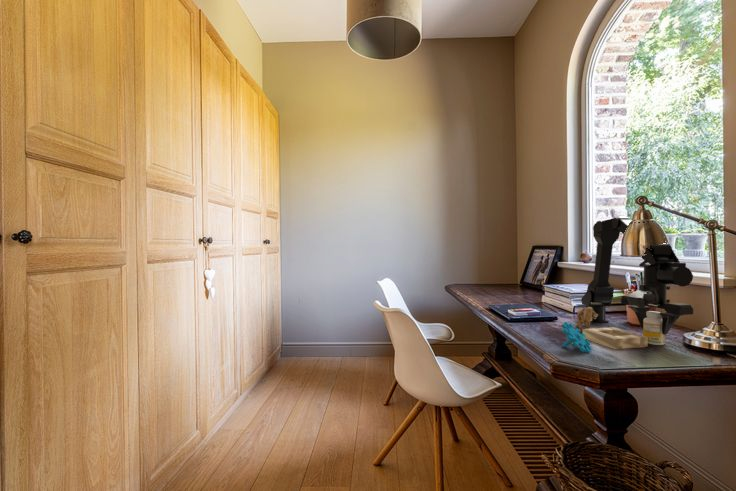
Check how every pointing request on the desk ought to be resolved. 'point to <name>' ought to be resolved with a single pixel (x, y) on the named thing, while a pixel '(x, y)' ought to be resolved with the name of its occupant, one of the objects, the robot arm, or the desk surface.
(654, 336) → the supplement bottle
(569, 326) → the teal lumpy piece
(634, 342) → the beige square frame
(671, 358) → the desk surface
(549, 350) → the desk surface
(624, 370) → the desk surface
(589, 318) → the lion figurine
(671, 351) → the desk surface
